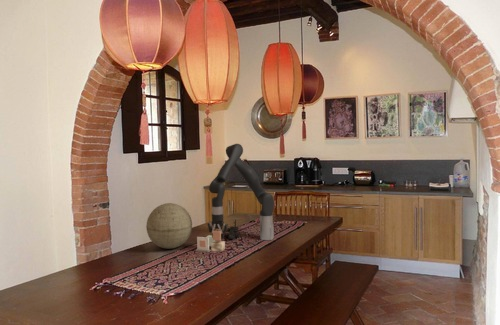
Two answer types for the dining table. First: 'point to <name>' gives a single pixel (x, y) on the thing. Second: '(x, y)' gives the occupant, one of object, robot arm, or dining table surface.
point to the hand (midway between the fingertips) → (218, 238)
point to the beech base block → (218, 246)
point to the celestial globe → (169, 225)
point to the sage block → (210, 239)
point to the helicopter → (232, 231)
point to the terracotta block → (217, 235)
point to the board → (203, 244)
